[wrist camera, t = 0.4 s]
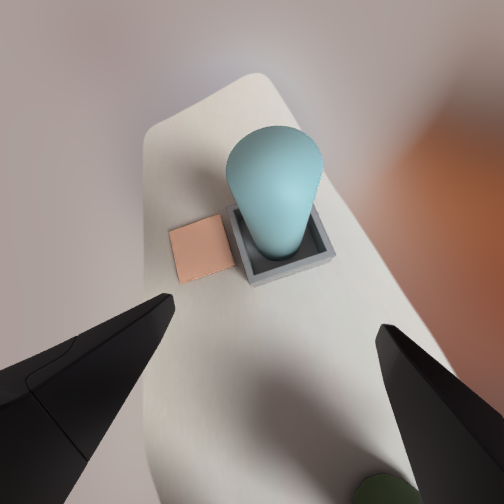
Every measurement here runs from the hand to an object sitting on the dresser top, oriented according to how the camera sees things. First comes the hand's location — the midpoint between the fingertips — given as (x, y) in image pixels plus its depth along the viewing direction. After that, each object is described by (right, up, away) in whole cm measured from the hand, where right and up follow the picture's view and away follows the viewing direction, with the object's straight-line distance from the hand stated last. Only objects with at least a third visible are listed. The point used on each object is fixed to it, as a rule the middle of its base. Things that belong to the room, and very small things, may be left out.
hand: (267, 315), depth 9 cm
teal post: (+2, +4, +14) cm, 15 cm away
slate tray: (+2, +4, +14) cm, 15 cm away
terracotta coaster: (-6, +3, +15) cm, 17 cm away
